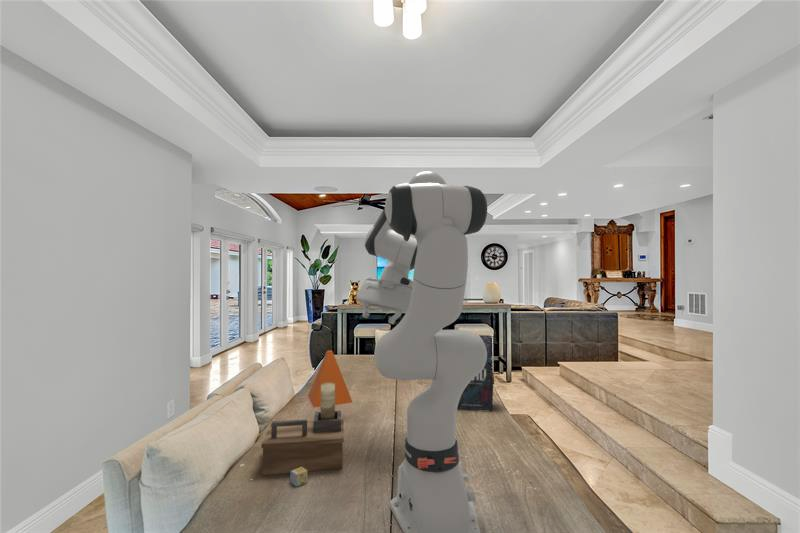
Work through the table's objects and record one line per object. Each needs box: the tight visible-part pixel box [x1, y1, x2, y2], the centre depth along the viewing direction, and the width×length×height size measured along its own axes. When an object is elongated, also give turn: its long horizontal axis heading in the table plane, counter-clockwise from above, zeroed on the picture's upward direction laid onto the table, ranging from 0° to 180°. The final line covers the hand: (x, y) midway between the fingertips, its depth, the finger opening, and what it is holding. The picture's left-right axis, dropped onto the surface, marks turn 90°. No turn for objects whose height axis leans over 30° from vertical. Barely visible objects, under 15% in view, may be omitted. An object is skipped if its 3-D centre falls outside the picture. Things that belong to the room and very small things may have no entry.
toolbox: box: [260, 410, 345, 476], centre depth 105 cm, size 14×21×12 cm, turn 99°
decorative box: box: [457, 334, 494, 412], centre depth 147 cm, size 8×16×28 cm, turn 81°
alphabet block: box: [289, 467, 308, 488], centre depth 93 cm, size 3×3×3 cm
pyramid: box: [307, 350, 353, 408], centre depth 156 cm, size 16×16×20 cm
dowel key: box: [320, 383, 336, 420], centre depth 108 cm, size 4×4×12 cm
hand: (377, 320), depth 118 cm, fingers open, 8 cm apart
